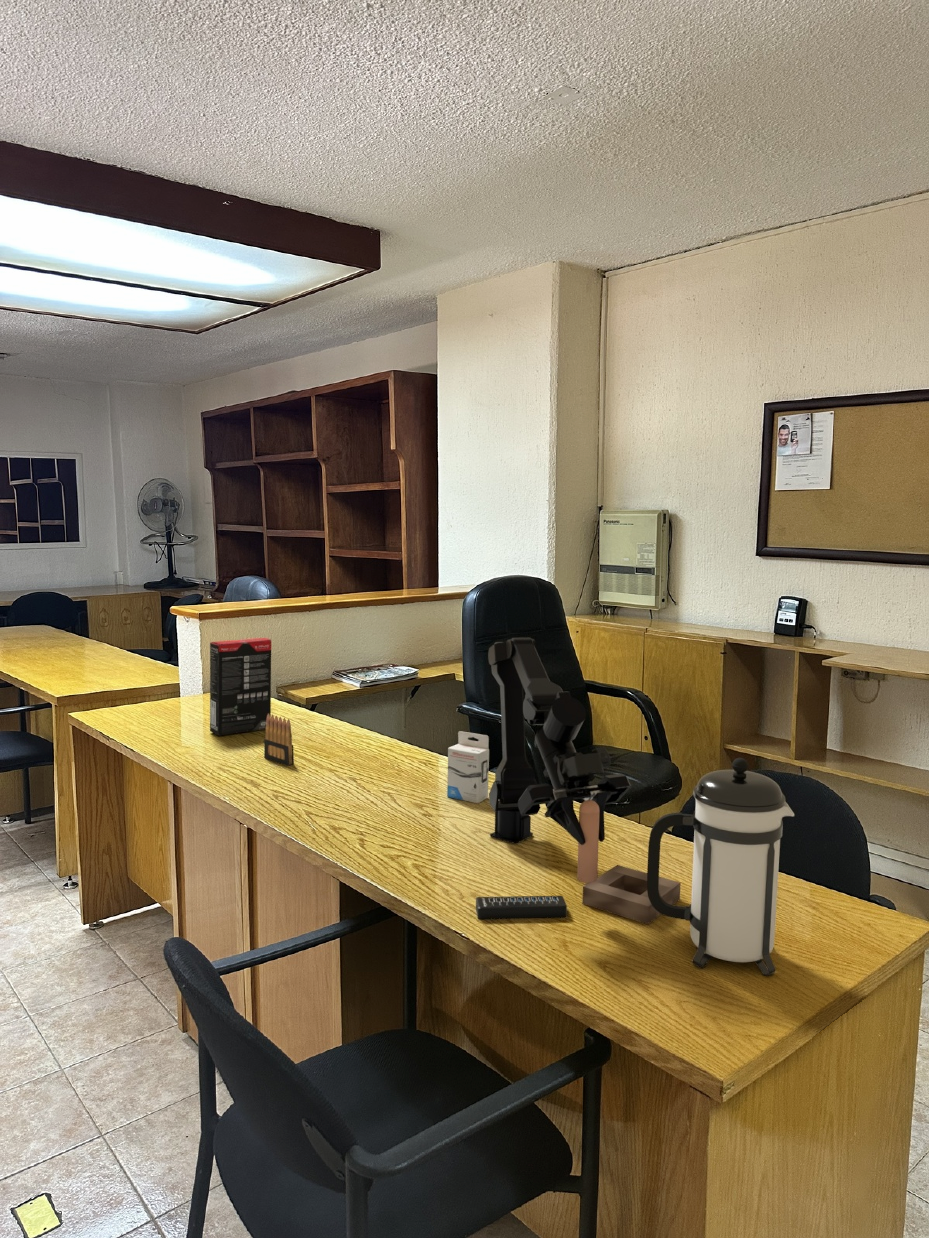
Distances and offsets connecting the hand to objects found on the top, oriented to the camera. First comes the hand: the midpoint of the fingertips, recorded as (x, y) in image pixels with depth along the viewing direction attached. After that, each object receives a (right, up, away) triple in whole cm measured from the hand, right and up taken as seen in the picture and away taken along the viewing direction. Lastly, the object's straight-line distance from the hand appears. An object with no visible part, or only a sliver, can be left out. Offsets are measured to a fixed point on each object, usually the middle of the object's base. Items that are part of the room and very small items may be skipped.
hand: (593, 842), depth 141 cm
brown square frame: (+8, -12, +9) cm, 17 cm away
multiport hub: (-11, -13, +4) cm, 18 cm away
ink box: (-20, -6, +63) cm, 66 cm away
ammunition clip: (-69, -2, +91) cm, 114 cm away
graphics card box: (-86, +2, +122) cm, 149 cm away
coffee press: (+18, -15, -9) cm, 25 cm away
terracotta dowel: (-1, -6, +2) cm, 7 cm away
